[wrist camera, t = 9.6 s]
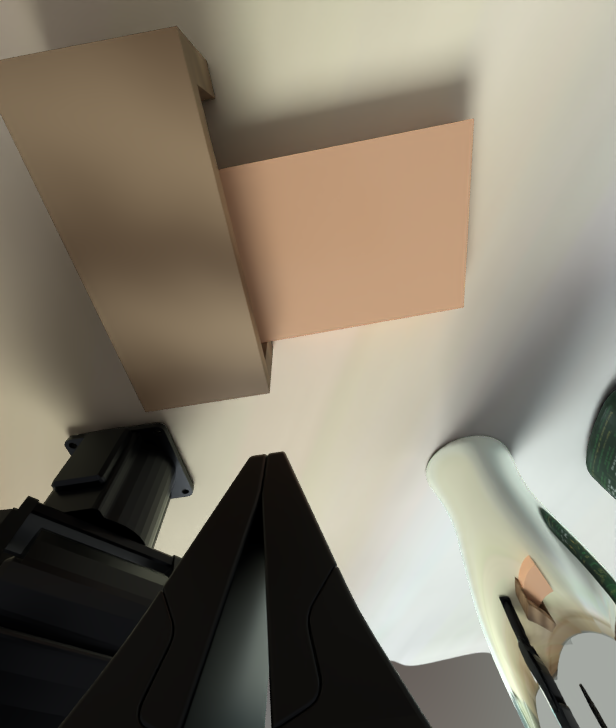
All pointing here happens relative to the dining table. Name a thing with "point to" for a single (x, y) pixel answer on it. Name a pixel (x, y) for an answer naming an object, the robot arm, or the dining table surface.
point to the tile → (354, 230)
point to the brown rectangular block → (142, 209)
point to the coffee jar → (604, 447)
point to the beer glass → (531, 589)
